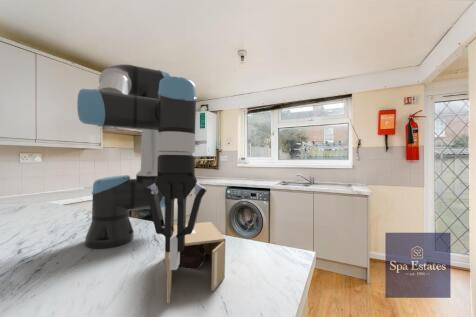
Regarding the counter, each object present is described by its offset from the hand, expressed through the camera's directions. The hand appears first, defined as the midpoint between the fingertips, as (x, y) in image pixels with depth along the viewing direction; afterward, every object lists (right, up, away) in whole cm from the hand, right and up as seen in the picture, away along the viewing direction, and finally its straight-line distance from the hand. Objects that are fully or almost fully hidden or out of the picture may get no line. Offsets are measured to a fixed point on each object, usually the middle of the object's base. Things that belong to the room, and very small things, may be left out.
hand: (174, 266), depth 46 cm
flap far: (+8, -8, +7) cm, 13 cm away
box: (0, -8, +17) cm, 19 cm away
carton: (0, -8, +16) cm, 18 cm away
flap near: (-2, -7, +2) cm, 8 cm away
